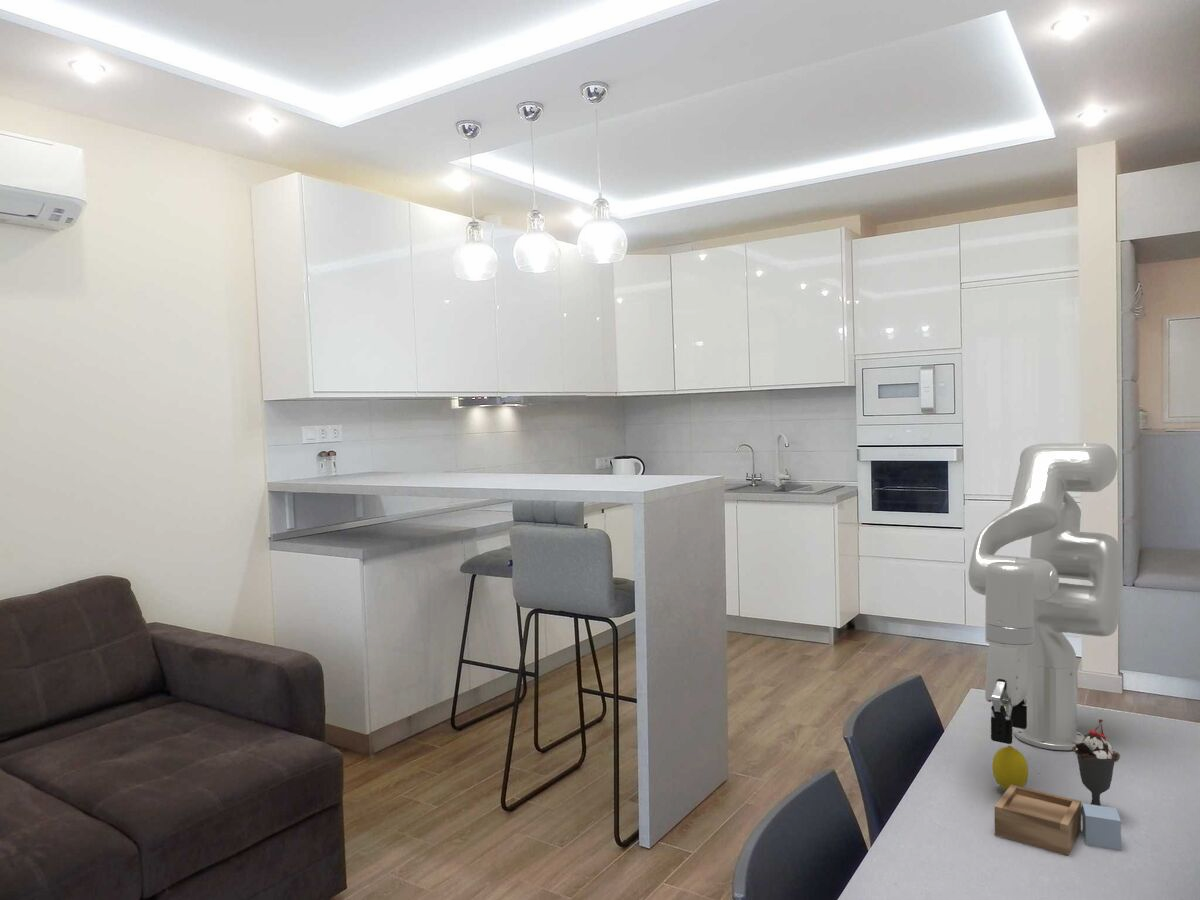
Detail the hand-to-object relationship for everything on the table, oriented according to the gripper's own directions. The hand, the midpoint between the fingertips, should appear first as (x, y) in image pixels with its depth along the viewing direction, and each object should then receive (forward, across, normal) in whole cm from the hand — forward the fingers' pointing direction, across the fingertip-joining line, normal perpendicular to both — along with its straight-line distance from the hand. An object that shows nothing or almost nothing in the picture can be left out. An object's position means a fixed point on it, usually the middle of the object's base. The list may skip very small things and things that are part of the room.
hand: (1009, 734), depth 141 cm
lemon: (+10, -1, 0) cm, 10 cm away
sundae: (+10, -1, +13) cm, 16 cm away
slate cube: (+11, +9, +15) cm, 20 cm away
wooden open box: (+10, +12, +7) cm, 17 cm away
